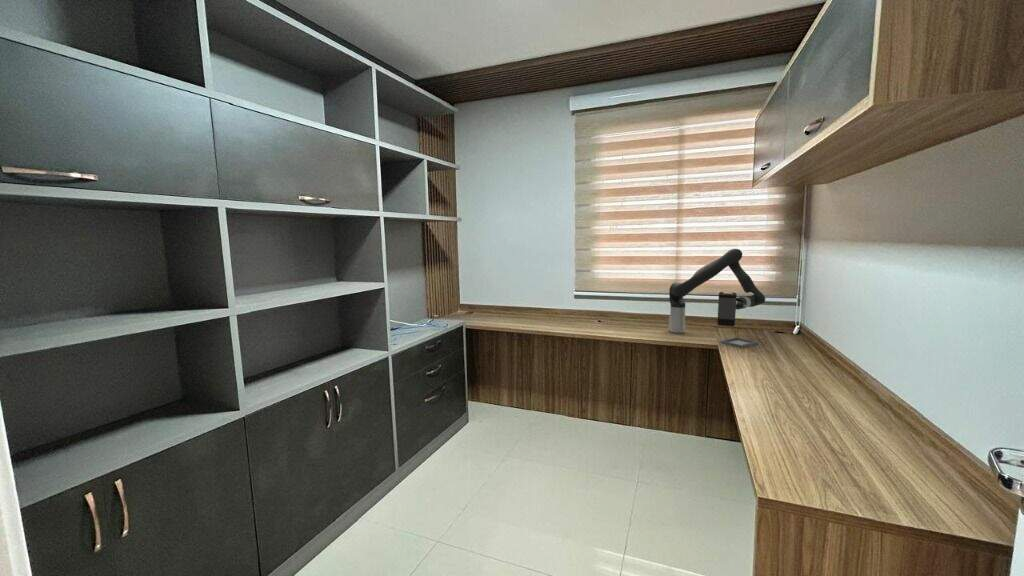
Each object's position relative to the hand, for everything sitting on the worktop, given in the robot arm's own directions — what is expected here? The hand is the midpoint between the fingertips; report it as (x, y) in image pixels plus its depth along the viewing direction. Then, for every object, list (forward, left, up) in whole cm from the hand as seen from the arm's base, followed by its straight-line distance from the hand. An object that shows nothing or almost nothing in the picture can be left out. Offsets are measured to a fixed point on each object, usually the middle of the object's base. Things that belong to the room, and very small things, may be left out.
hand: (725, 305), depth 238 cm
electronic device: (0, +1, -12) cm, 12 cm away
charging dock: (+9, +1, -22) cm, 23 cm away
